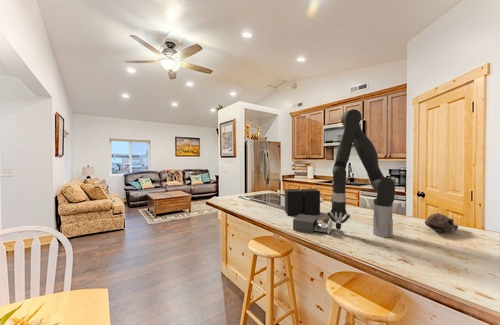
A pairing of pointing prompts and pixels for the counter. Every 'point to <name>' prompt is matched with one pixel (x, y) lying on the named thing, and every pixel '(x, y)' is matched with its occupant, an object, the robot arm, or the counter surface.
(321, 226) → the disc
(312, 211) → the speaker
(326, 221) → the brown rounded cylinder
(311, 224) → the cylinder
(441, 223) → the brown toy animal
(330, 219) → the drawer
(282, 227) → the counter surface
